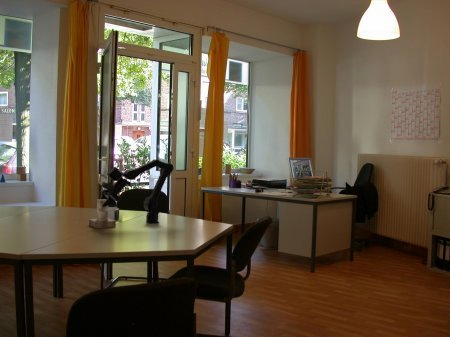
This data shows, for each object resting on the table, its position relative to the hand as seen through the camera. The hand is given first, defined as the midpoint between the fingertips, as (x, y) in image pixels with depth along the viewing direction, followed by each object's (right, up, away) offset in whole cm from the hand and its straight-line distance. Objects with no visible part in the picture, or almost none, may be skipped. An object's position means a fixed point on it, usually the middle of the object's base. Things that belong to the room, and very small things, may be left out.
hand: (100, 205), depth 280 cm
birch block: (+1, -8, +1) cm, 9 cm away
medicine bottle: (+1, -11, +23) cm, 26 cm away
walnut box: (+1, -12, +1) cm, 13 cm away
